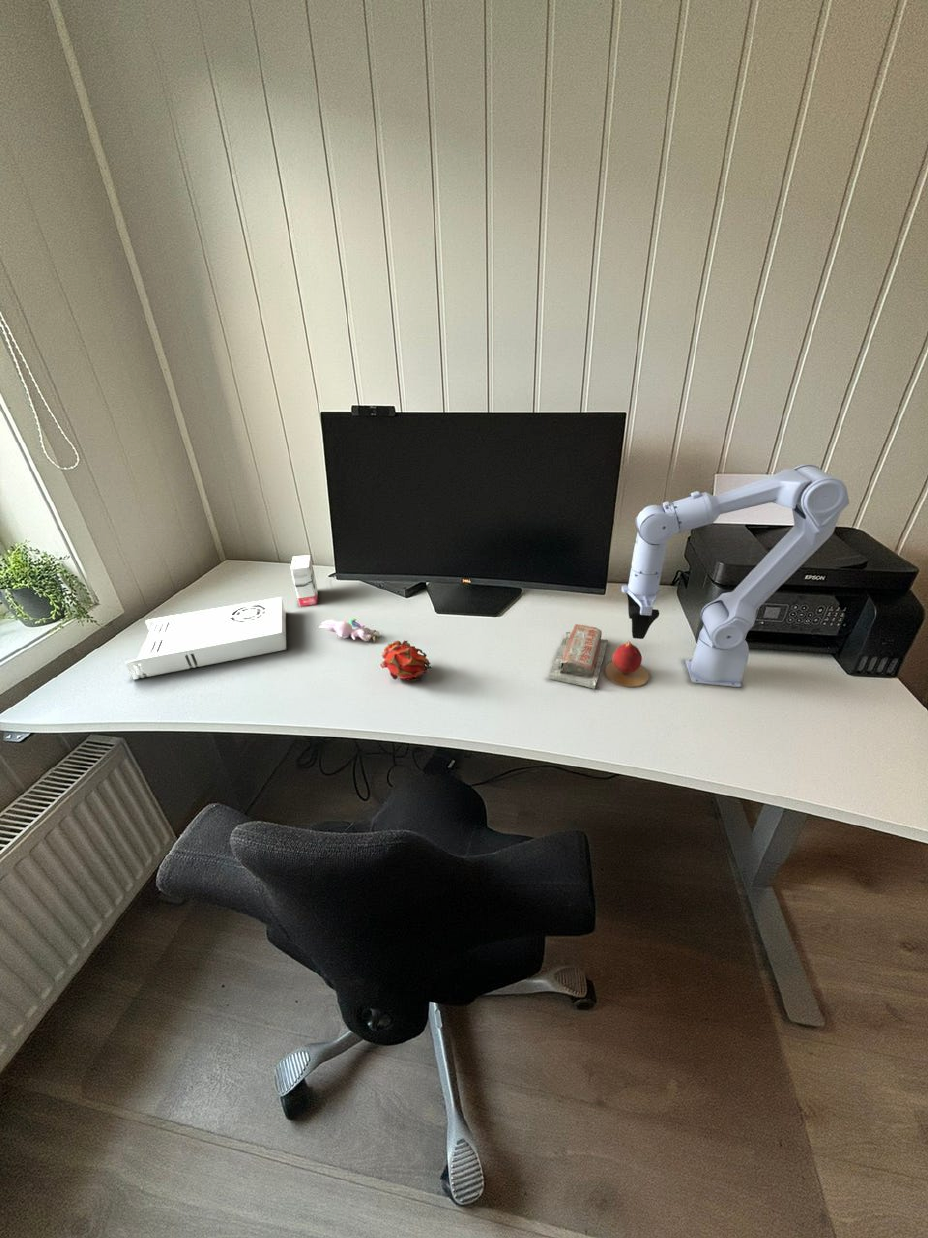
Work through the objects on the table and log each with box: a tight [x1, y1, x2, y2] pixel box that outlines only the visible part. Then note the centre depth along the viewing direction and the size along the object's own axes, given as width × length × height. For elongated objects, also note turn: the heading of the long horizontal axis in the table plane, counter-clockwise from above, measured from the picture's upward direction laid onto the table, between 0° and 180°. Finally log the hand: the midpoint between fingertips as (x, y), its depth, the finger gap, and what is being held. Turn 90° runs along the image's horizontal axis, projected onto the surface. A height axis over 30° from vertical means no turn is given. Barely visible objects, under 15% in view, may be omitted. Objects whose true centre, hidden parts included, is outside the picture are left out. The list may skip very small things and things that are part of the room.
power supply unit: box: [125, 596, 287, 680], centre depth 118 cm, size 19×33×5 cm, turn 108°
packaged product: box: [548, 623, 609, 690], centre depth 107 cm, size 18×5×10 cm
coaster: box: [604, 661, 650, 688], centre depth 104 cm, size 9×9×1 cm
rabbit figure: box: [318, 618, 380, 642], centre depth 118 cm, size 6×6×15 cm
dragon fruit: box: [379, 640, 432, 682], centre depth 104 cm, size 8×8×12 cm
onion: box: [612, 641, 643, 674], centre depth 101 cm, size 6×6×8 cm
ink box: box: [290, 555, 319, 607], centre depth 135 cm, size 8×5×12 cm, turn 13°
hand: (636, 627), depth 100 cm, fingers open, 7 cm apart
